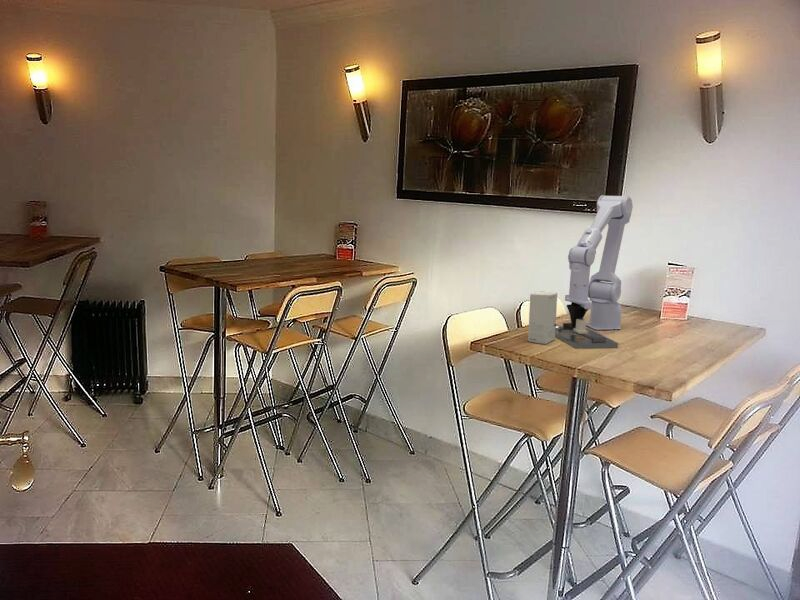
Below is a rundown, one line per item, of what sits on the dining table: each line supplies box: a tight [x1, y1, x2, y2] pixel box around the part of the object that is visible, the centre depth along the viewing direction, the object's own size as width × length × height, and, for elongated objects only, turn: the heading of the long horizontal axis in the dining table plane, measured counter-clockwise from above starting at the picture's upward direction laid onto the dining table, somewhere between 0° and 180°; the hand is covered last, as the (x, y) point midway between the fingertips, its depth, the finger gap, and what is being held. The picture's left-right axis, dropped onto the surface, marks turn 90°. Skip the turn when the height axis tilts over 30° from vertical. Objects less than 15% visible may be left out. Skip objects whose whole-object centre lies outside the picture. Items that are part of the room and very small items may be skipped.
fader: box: [573, 318, 588, 334], centre depth 185 cm, size 3×4×4 cm, turn 10°
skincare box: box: [527, 291, 558, 345], centre depth 179 cm, size 8×6×15 cm
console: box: [555, 322, 619, 349], centre depth 184 cm, size 13×22×3 cm, turn 10°
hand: (575, 327), depth 188 cm, fingers closed
